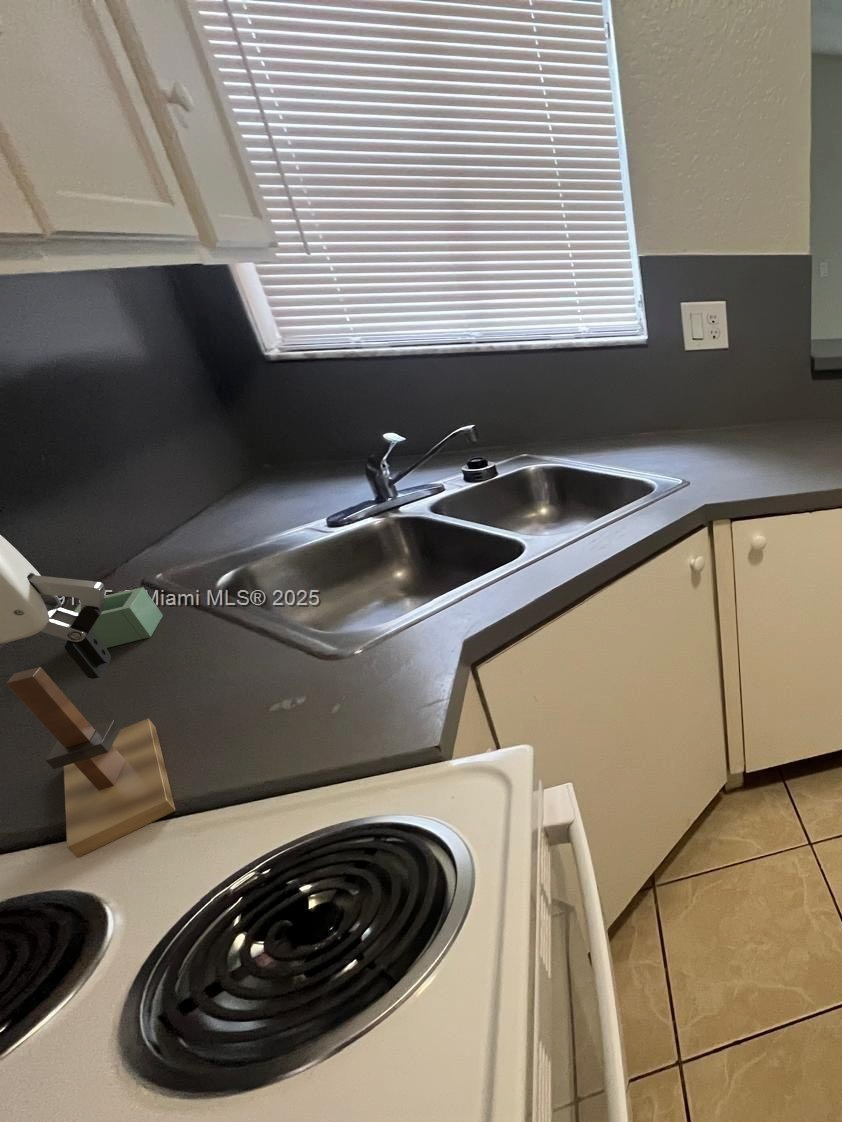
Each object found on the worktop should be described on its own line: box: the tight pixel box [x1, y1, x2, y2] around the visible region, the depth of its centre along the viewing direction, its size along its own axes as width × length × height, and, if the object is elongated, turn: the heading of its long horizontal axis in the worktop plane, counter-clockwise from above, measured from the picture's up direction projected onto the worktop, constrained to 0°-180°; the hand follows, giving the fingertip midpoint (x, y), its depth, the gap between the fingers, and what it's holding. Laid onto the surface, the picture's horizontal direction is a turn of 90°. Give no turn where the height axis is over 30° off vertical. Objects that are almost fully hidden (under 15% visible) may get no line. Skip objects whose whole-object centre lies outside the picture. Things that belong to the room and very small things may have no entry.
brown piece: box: [6, 666, 126, 790], centre depth 60 cm, size 4×4×13 cm
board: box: [63, 718, 176, 858], centre depth 64 cm, size 18×7×2 cm, turn 47°
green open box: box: [73, 586, 164, 649], centre depth 89 cm, size 7×7×5 cm
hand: (31, 688), depth 58 cm, fingers open, 9 cm apart
